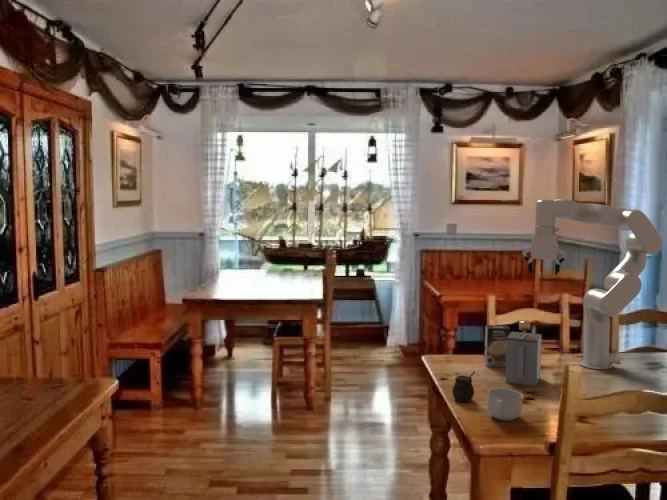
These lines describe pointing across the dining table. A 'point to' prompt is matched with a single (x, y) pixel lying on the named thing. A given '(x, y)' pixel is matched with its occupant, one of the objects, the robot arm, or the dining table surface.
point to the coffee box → (496, 345)
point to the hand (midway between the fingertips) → (543, 273)
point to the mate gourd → (463, 388)
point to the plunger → (524, 326)
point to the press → (523, 358)
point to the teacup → (504, 403)
